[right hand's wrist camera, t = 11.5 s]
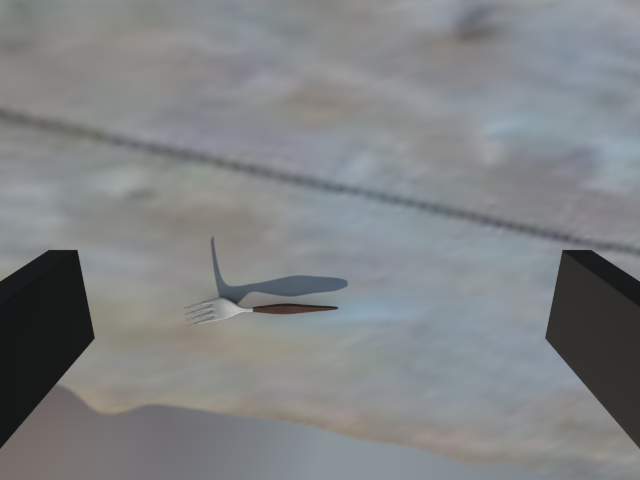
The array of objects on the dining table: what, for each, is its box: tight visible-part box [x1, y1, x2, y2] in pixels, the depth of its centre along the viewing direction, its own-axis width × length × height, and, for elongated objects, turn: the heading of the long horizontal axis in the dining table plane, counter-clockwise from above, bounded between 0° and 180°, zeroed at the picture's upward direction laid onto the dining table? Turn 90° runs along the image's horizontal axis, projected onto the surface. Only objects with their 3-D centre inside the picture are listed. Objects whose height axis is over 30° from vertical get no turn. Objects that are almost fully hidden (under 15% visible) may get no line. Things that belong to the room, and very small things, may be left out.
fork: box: [184, 298, 338, 327], centre depth 48 cm, size 3×16×2 cm, turn 91°
